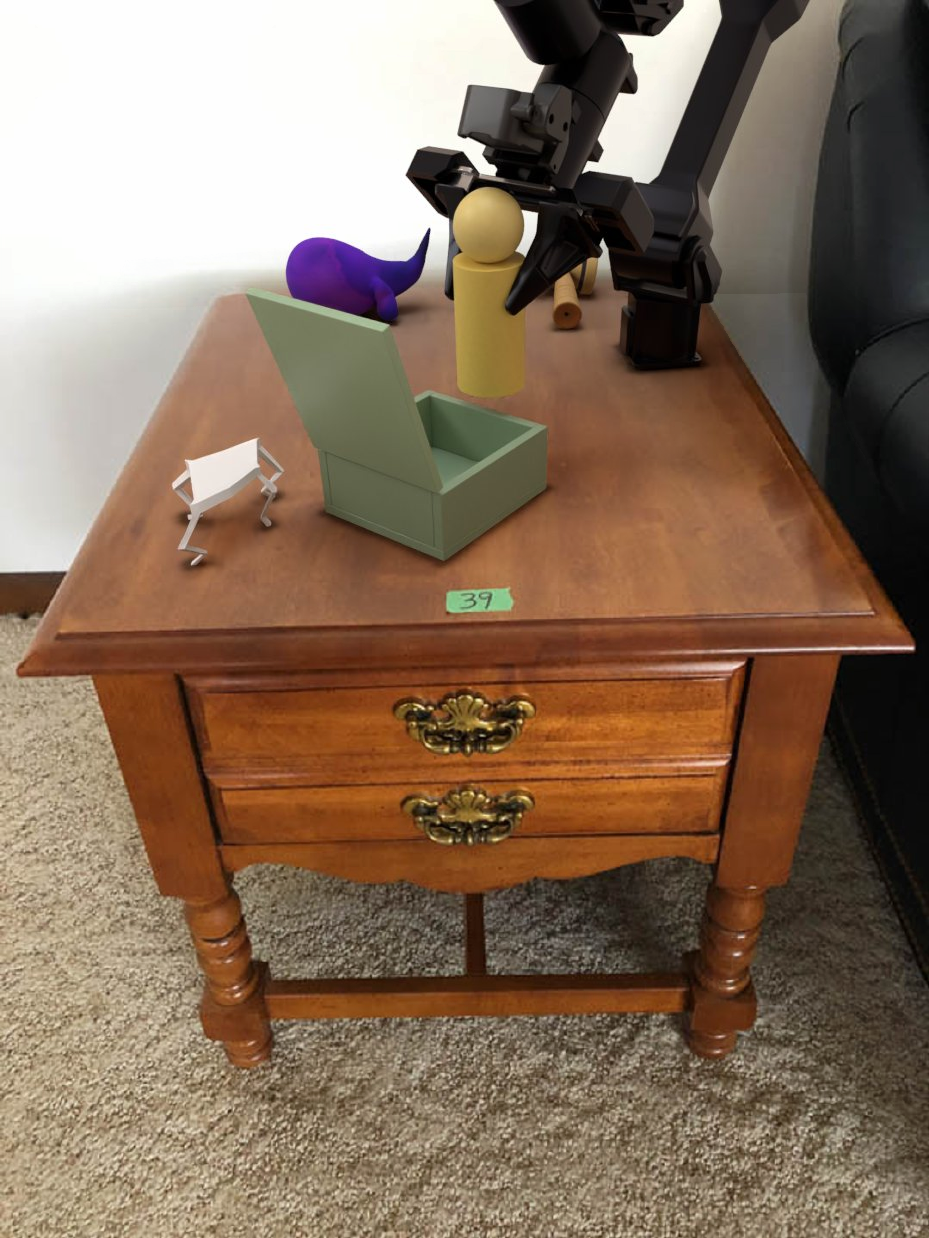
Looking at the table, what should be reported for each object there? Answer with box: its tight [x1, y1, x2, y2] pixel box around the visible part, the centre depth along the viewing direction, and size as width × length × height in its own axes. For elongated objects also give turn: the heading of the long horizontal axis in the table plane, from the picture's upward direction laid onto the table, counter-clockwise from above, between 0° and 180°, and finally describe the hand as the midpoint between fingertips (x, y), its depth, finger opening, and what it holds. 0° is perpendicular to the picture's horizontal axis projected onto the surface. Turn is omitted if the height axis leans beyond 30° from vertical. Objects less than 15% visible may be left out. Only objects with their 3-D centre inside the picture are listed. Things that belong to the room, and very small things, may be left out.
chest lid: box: [244, 286, 443, 493], centre depth 67 cm, size 13×12×1 cm
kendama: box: [552, 258, 599, 330], centre depth 112 cm, size 8×6×18 cm
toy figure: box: [453, 187, 526, 399], centre depth 75 cm, size 5×5×14 cm
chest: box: [317, 389, 549, 562], centre depth 77 cm, size 13×12×5 cm
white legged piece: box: [171, 437, 285, 566], centre depth 75 cm, size 12×8×5 cm
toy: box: [285, 227, 432, 322], centre depth 109 cm, size 9×10×15 cm
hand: (478, 305), depth 74 cm, fingers closed on toy figure, 5 cm apart
